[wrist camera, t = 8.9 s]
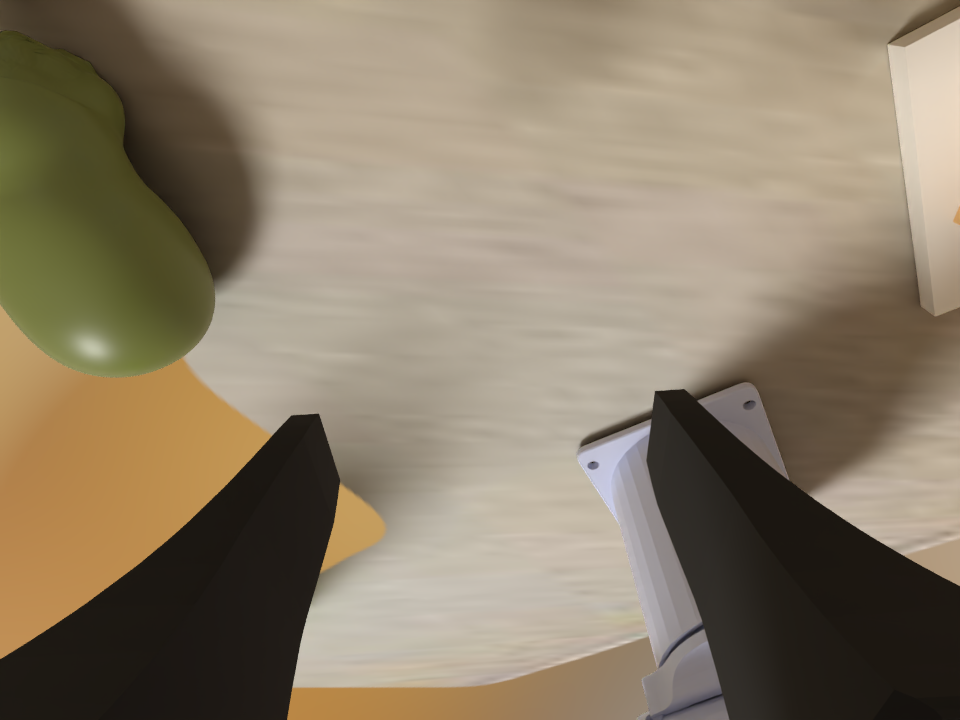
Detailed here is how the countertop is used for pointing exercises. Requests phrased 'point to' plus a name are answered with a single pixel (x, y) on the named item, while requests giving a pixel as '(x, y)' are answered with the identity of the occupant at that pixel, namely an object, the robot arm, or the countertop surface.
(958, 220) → the cardboard-colored cube
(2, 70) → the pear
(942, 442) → the countertop surface
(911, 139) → the plate
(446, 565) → the countertop surface
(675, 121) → the countertop surface
